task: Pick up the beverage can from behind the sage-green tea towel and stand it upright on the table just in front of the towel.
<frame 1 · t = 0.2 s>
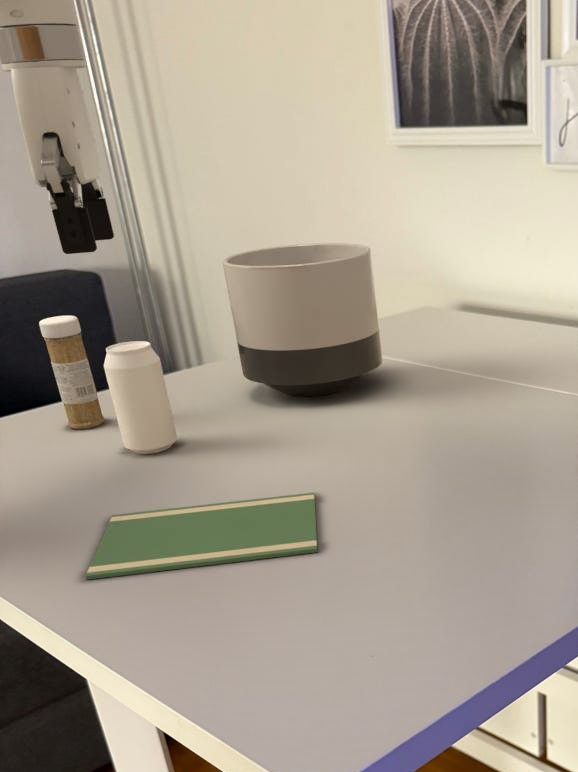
hand: (90, 245, 97), 23 cm above the table, tool pointing down, fingers open, 9 cm apart
sprinkles bottle: (87, 426, 122), on the table
planter: (316, 389, 131), on the table
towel: (210, 534, 88), on the table
beverage can: (152, 449, 112), on the table
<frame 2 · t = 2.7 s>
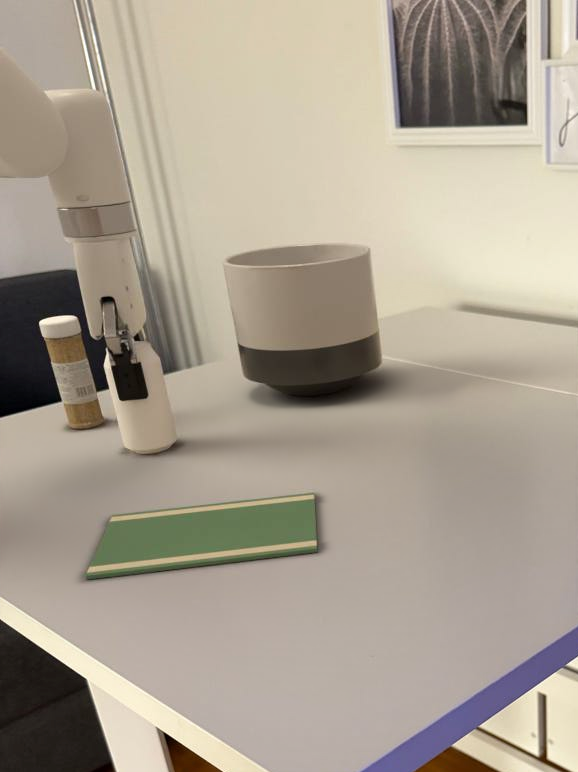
hand: (138, 389, 108), 7 cm above the table, tool pointing down, fingers closed on beverage can, 6 cm apart
beverage can: (152, 449, 112), on the table, touching gripper
everything else where it was.
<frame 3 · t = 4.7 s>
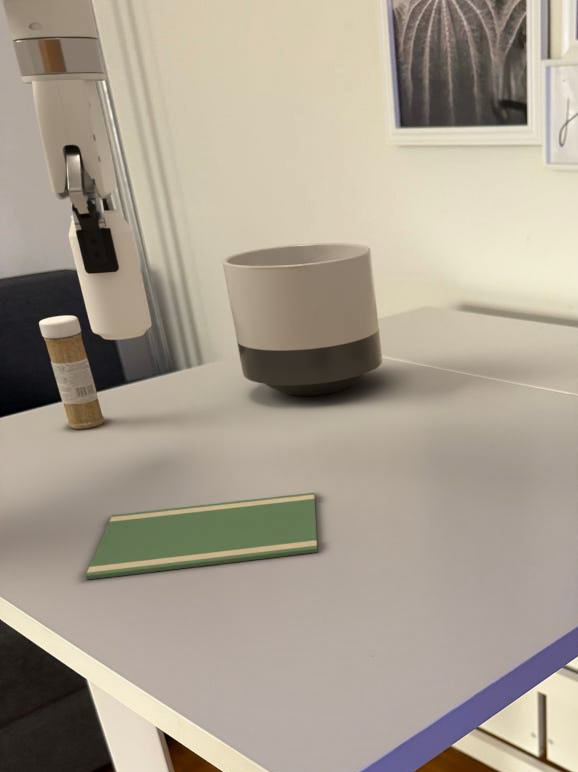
hand: (107, 265, 96), 21 cm above the table, tool pointing down, fingers closed on beverage can, 6 cm apart
beverage can: (124, 337, 100), point 14 cm above the table, touching gripper
everything else where it was.
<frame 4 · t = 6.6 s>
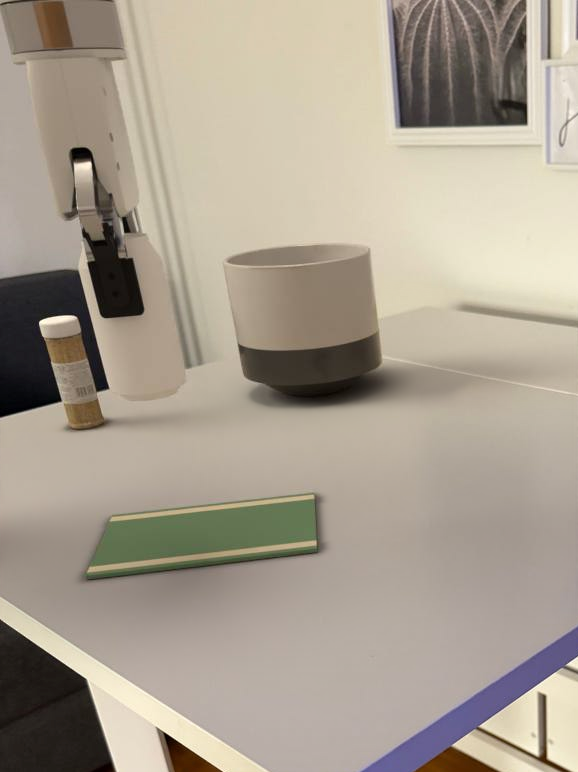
hand: (129, 305, 73), 22 cm above the table, tool pointing down, fingers closed on beverage can, 6 cm apart
beverage can: (151, 396, 77), point 14 cm above the table, touching gripper
everything else where it was.
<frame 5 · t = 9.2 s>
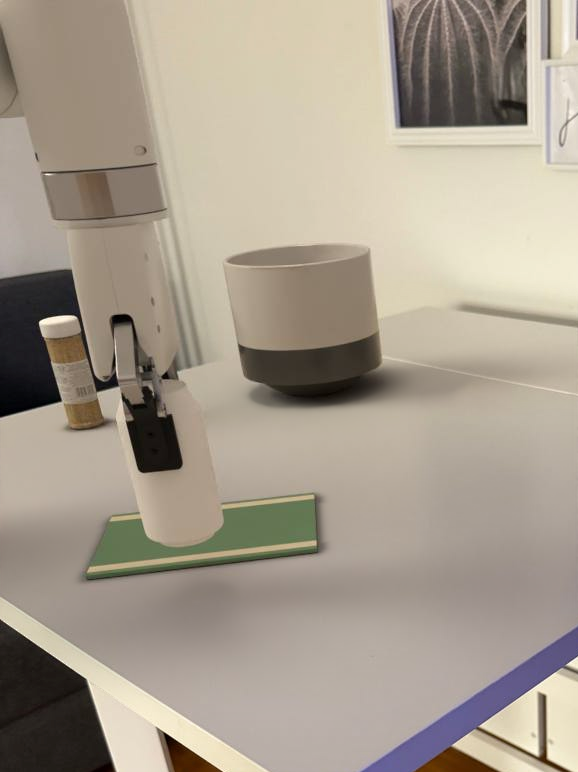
hand: (166, 452, 72), 12 cm above the table, tool pointing down, fingers closed on beverage can, 6 cm apart
beverage can: (187, 538, 75), point 5 cm above the table, touching gripper
everything else where it was.
when the fingers open (7 cm above the table, at t = 10.9 s): beverage can stays where it is, on the table.
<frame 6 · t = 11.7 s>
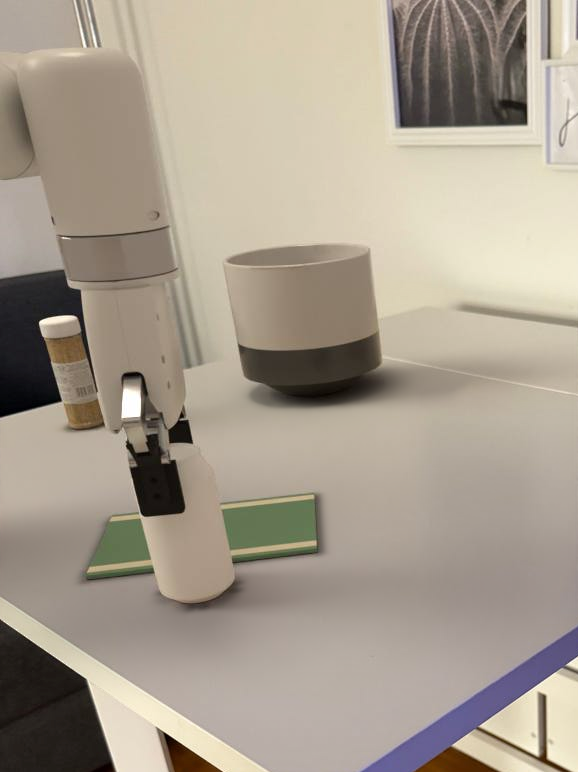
hand: (171, 490, 73), 9 cm above the table, tool pointing down, fingers open, 9 cm apart
beverage can: (199, 593, 78), on the table
everything else where it was.
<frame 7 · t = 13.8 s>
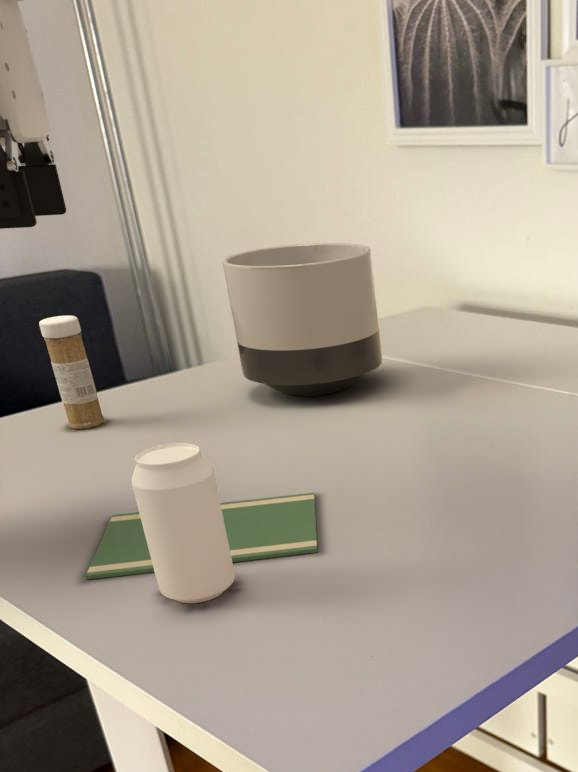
hand: (33, 220, 79), 27 cm above the table, tool pointing down, fingers open, 9 cm apart
nothing on the table moved.
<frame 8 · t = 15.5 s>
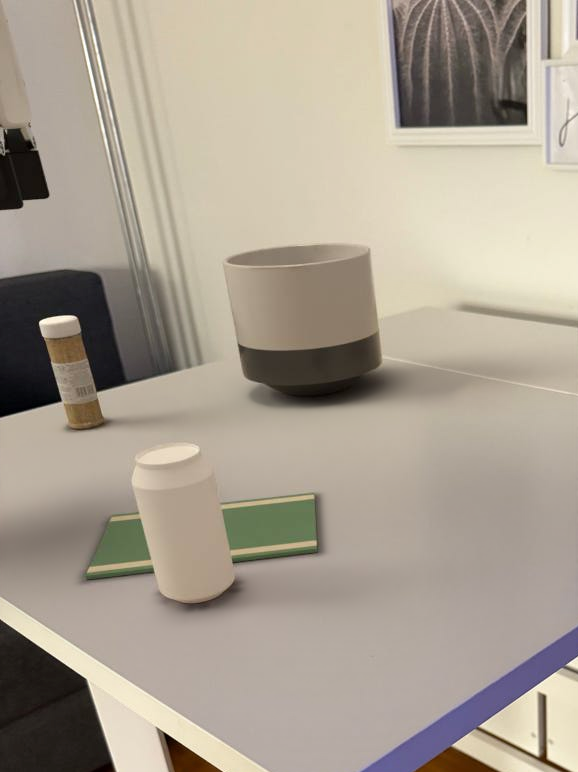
hand: (18, 204, 82), 28 cm above the table, tool pointing down, fingers open, 9 cm apart
nothing on the table moved.
at the end: beverage can inside the target area on the table beside the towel (0.8 cm from its centre), on the table; beverage can tilted 0°; the gripper is holding nothing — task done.
